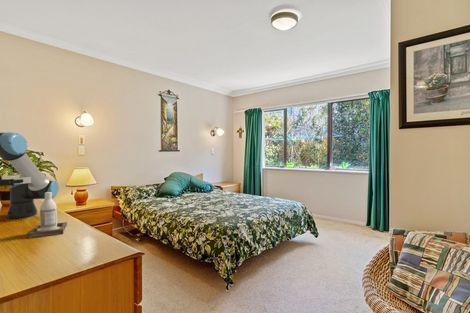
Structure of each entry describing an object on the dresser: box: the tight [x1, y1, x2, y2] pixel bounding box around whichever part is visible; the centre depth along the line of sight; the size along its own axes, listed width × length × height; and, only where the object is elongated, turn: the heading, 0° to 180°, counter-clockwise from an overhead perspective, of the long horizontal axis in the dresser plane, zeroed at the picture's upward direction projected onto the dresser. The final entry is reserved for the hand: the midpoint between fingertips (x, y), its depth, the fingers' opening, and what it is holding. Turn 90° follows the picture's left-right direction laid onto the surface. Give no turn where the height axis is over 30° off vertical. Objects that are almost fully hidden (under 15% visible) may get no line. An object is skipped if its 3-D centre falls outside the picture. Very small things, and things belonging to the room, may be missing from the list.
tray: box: [28, 221, 68, 239], centre depth 131 cm, size 14×14×2 cm
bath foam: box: [39, 192, 58, 231], centre depth 130 cm, size 7×7×20 cm
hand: (24, 178), depth 121 cm, fingers open, 13 cm apart
